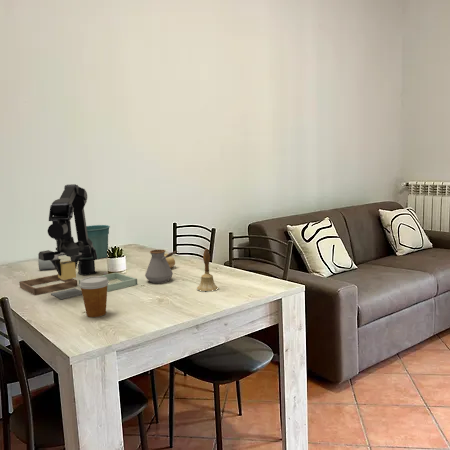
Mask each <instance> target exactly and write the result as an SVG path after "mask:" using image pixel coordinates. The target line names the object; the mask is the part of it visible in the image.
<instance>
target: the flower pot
mask: <svg viewBox="0 0 450 450" xmlns="http://www.w3.org/2000/svg"><path fill="white" fill-rule="evenodd" d="M86 227H87V234H88V238H89V239H90V240H91V241H92V243H93V247H94V248H95V250H96V253H97V260H100V259H102V258H103V259H105V258H107V257H108V256H107V250H108V251H109V235H110V228H111V225H107V224H96V225H95V224H93V225H92V224H91V225H86Z"/></svg>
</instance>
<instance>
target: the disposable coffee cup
mask: <svg viewBox="0 0 450 450" xmlns="http://www.w3.org/2000/svg"><path fill="white" fill-rule="evenodd" d="M80 280H81V281H80V284H79V283H78V286H79V287H80V289H81V291H82V295H81V296H82V299H83V304H84V310H85V314H86V317H88V318H99V317H102V316H104V315H106V314H107V300H108V299H107V297H108V292H107V285H108V284H110V280H107V278H106V277H103V276H102V275H97V276H95V275H94V276H88V277H84V278H82V279H80Z"/></svg>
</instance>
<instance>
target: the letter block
mask: <svg viewBox="0 0 450 450" xmlns="http://www.w3.org/2000/svg"><path fill="white" fill-rule="evenodd" d="M60 267H61V276H59V274H58V273H57V274H58V278H60V279H62V280H67V279H72V278H73V279H76V278H77V271H76V269H77V268H76V269H75V262H72V261H71V260H65V261H60Z"/></svg>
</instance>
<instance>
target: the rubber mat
mask: <svg viewBox="0 0 450 450" xmlns="http://www.w3.org/2000/svg"><path fill="white" fill-rule="evenodd" d="M50 295H51V296H53V297H56V298H57V299H59V300H65V299H66V300H67V299H71V298H74V297H78V296H83V295H82V291H81V290H80V289H78V288H77V287H73V288H68V289H66V290H65V289H64V290H59V291H54V292H50Z"/></svg>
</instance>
